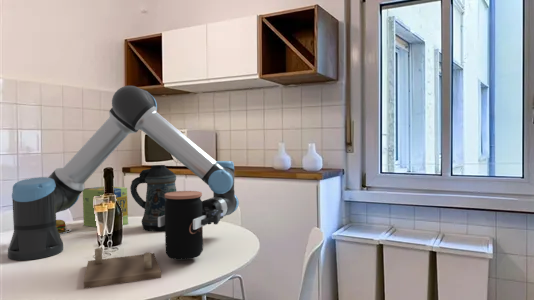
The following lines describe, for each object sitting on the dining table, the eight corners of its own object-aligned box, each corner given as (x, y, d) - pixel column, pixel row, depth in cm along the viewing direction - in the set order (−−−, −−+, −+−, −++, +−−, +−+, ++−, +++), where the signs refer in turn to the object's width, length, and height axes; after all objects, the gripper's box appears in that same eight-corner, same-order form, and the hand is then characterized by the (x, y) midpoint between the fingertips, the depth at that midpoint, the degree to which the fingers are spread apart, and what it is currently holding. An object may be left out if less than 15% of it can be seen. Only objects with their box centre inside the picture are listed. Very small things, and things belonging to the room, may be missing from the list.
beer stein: (190, 228, 157) (189, 165, 156) (141, 235, 146) (139, 168, 146) (175, 221, 171) (173, 163, 170) (129, 227, 160) (127, 165, 159)
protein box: (108, 229, 158) (106, 190, 157) (83, 225, 165) (81, 188, 165) (128, 224, 167) (127, 187, 167) (104, 220, 175) (103, 185, 174)
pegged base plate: (84, 288, 95) (83, 265, 95) (88, 266, 112) (87, 246, 112) (161, 277, 102) (160, 256, 101) (154, 258, 118) (153, 239, 118)
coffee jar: (194, 261, 109) (193, 196, 109) (158, 259, 111) (157, 195, 111) (208, 250, 120) (207, 191, 119) (175, 248, 122) (174, 190, 121)
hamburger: (65, 237, 148) (65, 223, 148) (34, 237, 148) (33, 223, 148) (81, 230, 160) (81, 216, 160) (52, 230, 160) (52, 216, 160)
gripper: (244, 223, 129) (213, 239, 108) (181, 218, 136) (141, 233, 115) (243, 200, 128) (213, 212, 108) (181, 197, 136) (141, 208, 115)
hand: (176, 223), depth 111 cm, fingers closed on coffee jar, 11 cm apart
